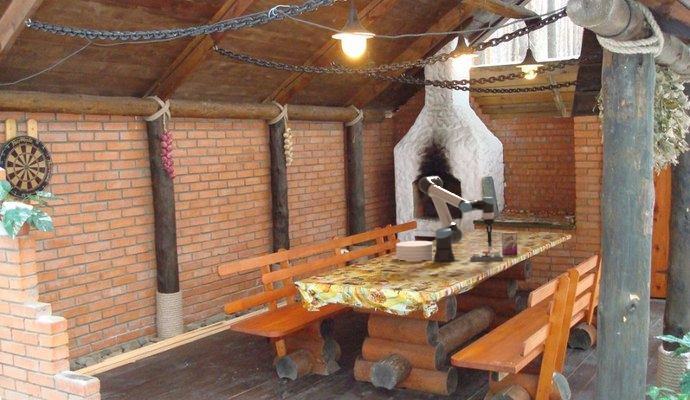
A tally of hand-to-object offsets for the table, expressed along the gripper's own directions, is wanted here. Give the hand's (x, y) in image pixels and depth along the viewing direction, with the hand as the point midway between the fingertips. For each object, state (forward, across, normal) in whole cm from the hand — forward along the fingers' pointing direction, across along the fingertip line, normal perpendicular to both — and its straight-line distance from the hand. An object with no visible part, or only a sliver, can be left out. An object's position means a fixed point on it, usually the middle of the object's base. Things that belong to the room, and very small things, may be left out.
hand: (490, 250), depth 491 cm
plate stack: (+7, +13, +56) cm, 58 cm away
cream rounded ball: (+6, 0, +10) cm, 12 cm away
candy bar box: (+7, +27, -15) cm, 32 cm away
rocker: (+2, 0, +3) cm, 3 cm away
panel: (+7, 0, +3) cm, 7 cm away
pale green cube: (+4, 0, -5) cm, 7 cm away
